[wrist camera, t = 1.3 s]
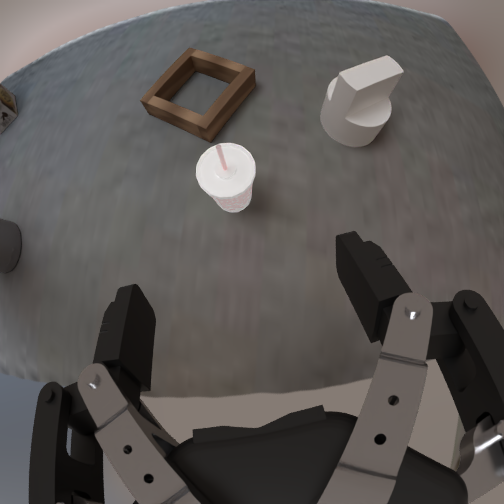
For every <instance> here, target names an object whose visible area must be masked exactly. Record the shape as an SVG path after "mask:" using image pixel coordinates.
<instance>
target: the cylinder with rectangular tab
mask: <svg viewBox="0 0 504 504" xmlns="http://www.w3.org/2000/svg"><path fill="white" fill-rule="evenodd" d="M403 72H404V71H403V69H402V68H401V67H400V66H399V65H398V63H397V62H395V61H394V60H393V59H392V58H391V57H389V56H388V55H387V56H384V57H381V58H378V59H375V60H372V61H369V62H366V63H364V64H361V65H358V66H355V67H353V68H350V69H347V70H345V71H342V72H340V73H339V76H338V77H337V78H335V79H333V80H332V82H331V83H330V84H329V87H328V90H327V94H326V97H325V100H324V103H323V106H322V110H321V113H320V120H321V123H322V126H323V128H324V130H325V131H326V133H327V134H328V135H329V136H330V137H331V138H332V139H334V140H335V141H337V142H339V143H341V144H343V145H346V146H350V147H363V146H365V145H368V144H369V143H371V142H372V141H373V140H374V139H375V137H376V136H377V134H378V133H379V132H380V130H381V129H382V127H383V126H384V124H385V123H386V122H387V120H388V119H389V117H390V115H391V109H392V108H391V102H390V100H389V98H388V97H389V95H390V94H391V92H392V90H393V89H394V87H395V85H396V84H397V82H398V81H399V79H400V77H401V76H402V74H403Z"/></svg>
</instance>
